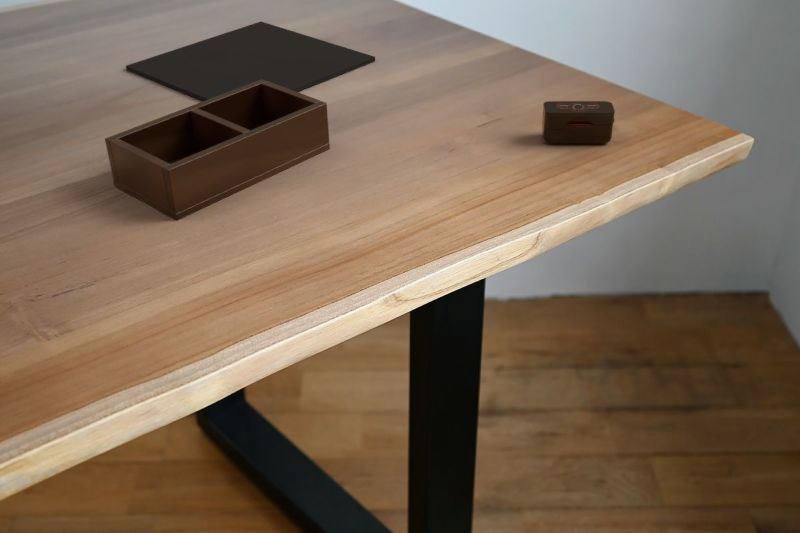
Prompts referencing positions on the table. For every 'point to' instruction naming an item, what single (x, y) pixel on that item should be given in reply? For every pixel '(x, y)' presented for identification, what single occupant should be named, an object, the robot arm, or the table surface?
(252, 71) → the mat
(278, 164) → the organizer
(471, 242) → the table surface
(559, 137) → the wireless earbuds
